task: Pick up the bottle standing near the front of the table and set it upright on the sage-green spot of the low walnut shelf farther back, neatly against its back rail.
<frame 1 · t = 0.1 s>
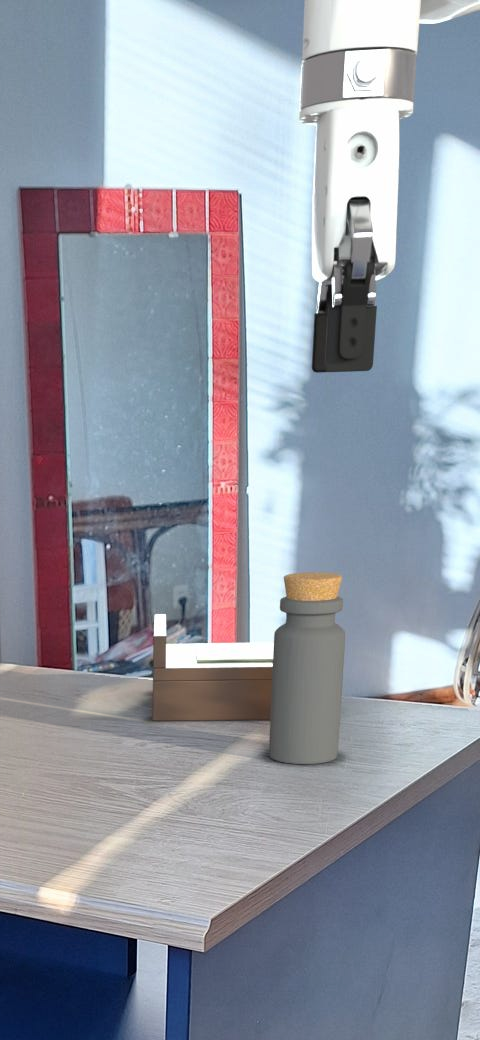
hand: (340, 371, 106), 30 cm above the table, tool pointing down, fingers open, 9 cm apart
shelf: (233, 705, 147), on the table
bottle: (302, 758, 126), on the table
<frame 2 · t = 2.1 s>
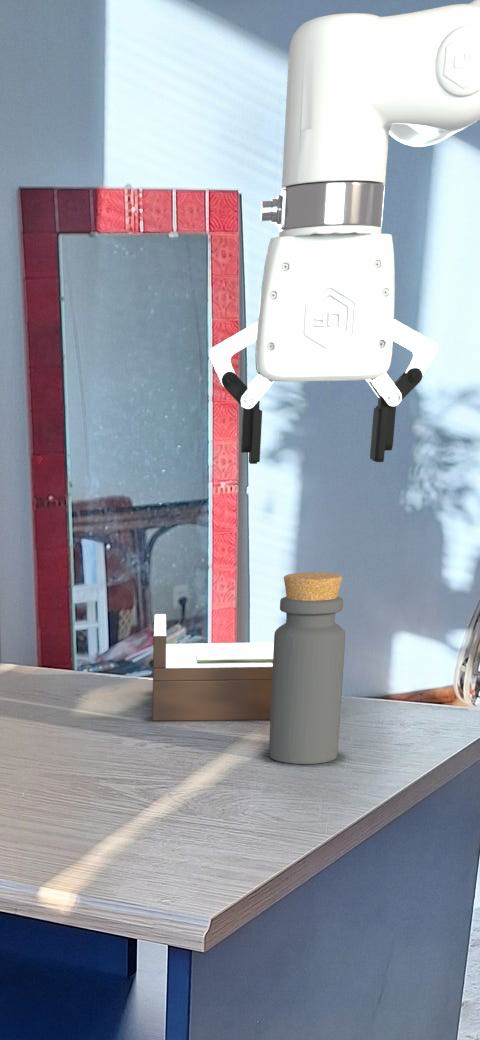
hand: (315, 462, 117), 24 cm above the table, tool pointing down, fingers open, 9 cm apart
nothing on the table moved.
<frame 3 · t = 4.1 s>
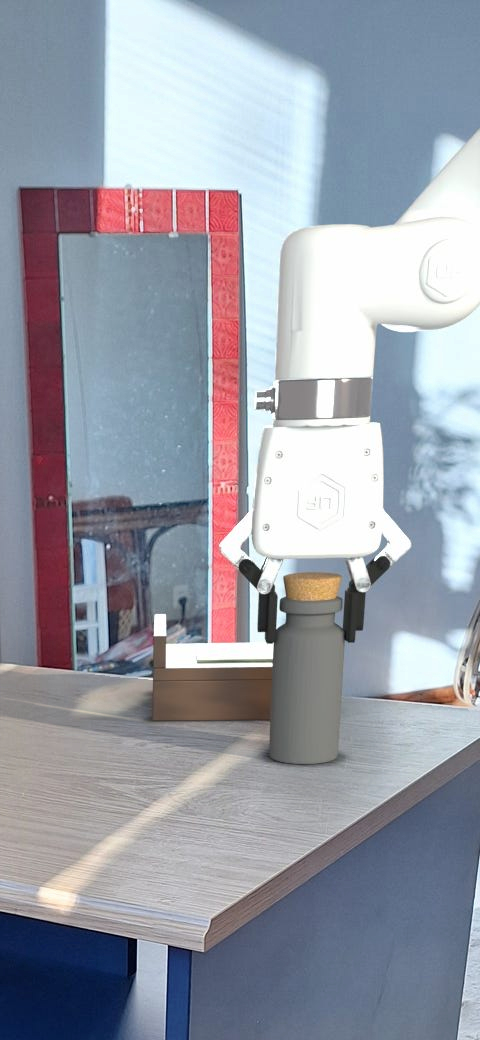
hand: (309, 638, 122), 10 cm above the table, tool pointing down, fingers closed on bottle, 5 cm apart
bottle: (302, 758, 126), on the table, touching gripper
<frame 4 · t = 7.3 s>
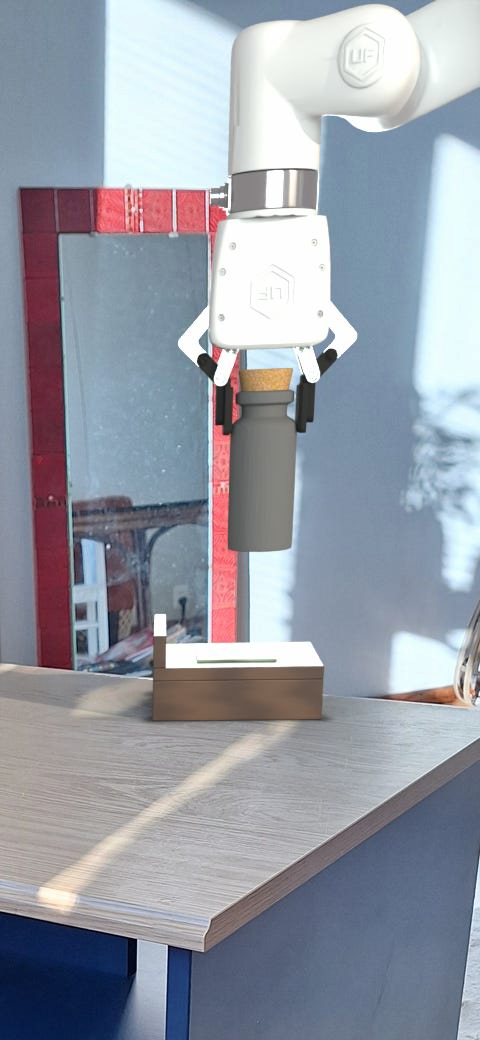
hand: (263, 431, 130), 26 cm above the table, tool pointing down, fingers closed on bottle, 5 cm apart
bottle: (259, 551, 134), point 15 cm above the table, touching gripper
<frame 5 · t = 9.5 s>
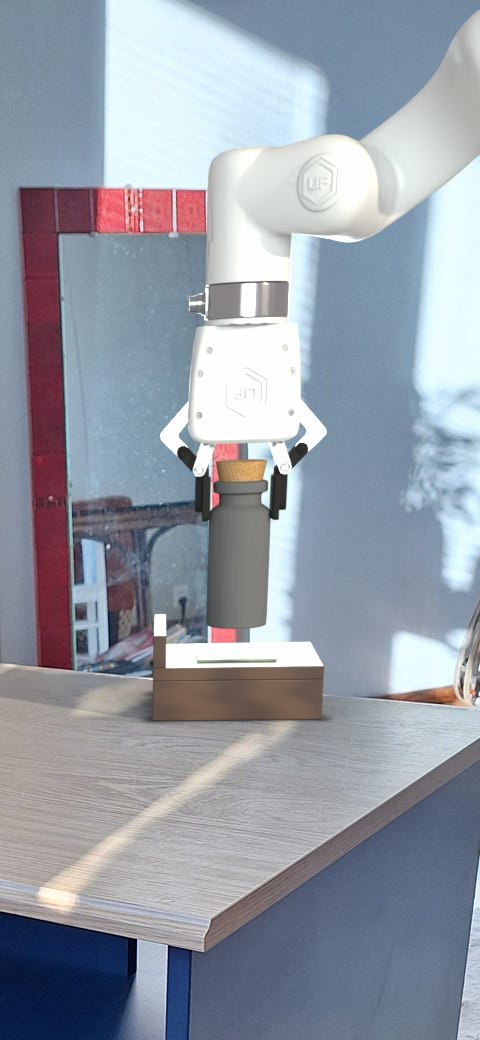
hand: (239, 517, 140), 18 cm above the table, tool pointing down, fingers closed on bottle, 5 cm apart
bottle: (236, 626, 144), point 8 cm above the table, touching gripper
when the fingers open (15 cm above the table, at t = 10.8 s): bottle stays where it is, resting on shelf.
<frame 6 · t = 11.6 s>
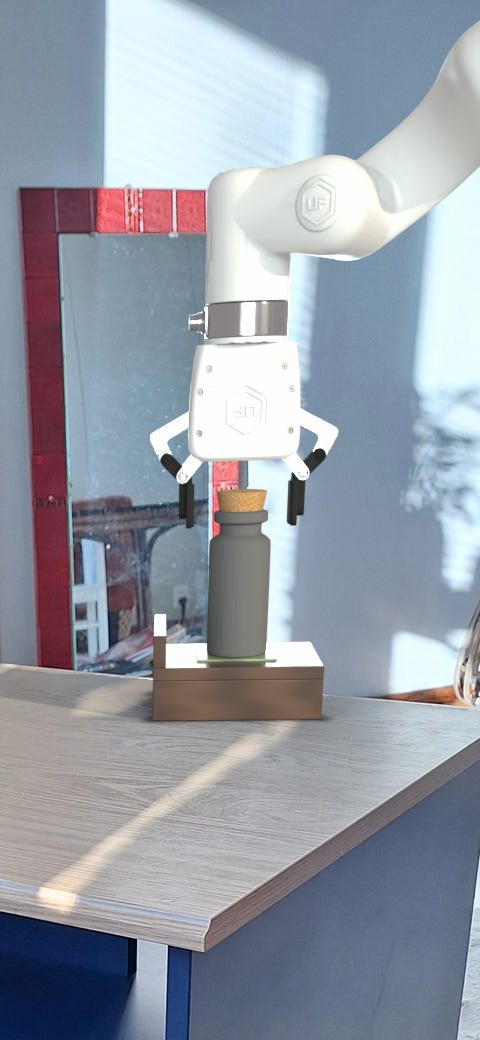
hand: (240, 525, 140), 17 cm above the table, tool pointing down, fingers open, 9 cm apart
bottle: (236, 654, 145), point 5 cm above the table, touching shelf
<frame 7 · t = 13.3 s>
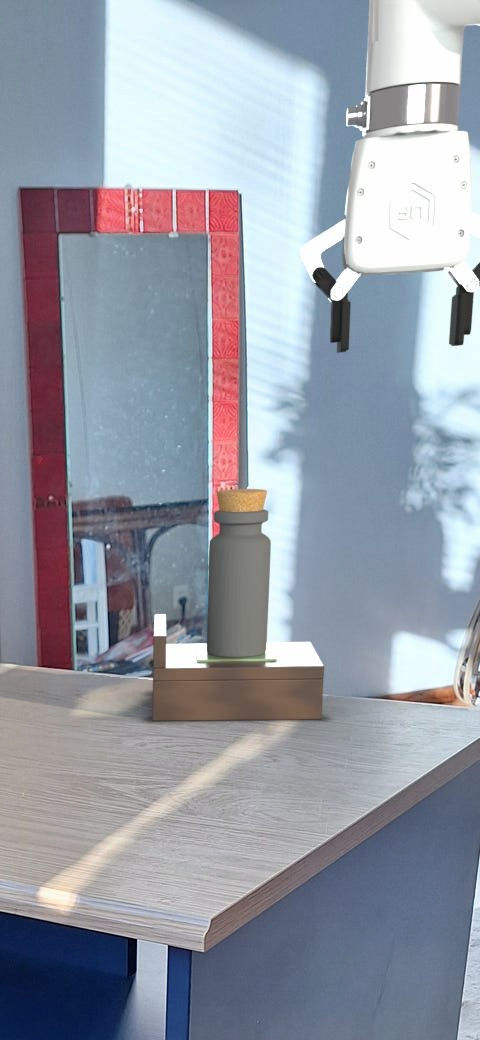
hand: (399, 348, 127), 32 cm above the table, tool pointing down, fingers open, 9 cm apart
nothing on the table moved.
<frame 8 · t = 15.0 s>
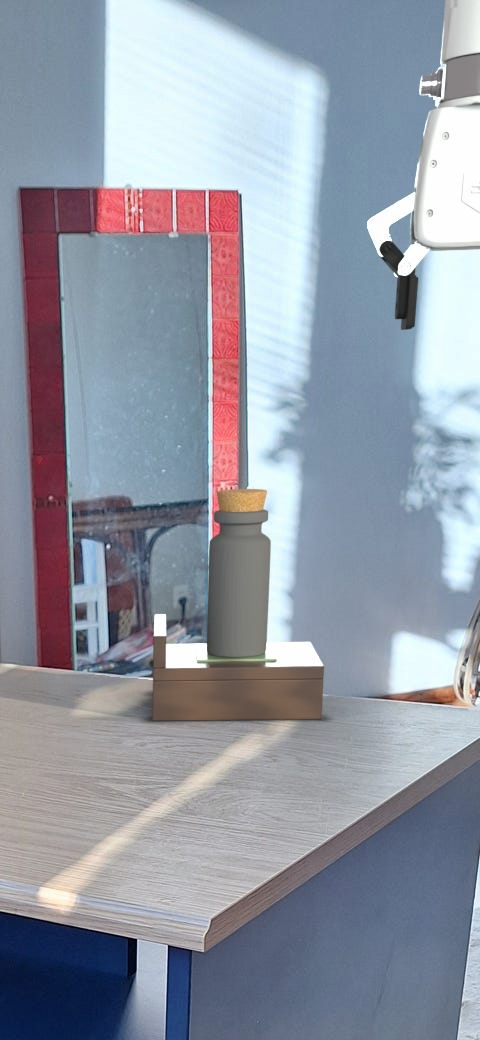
hand: (465, 326, 124), 33 cm above the table, tool pointing down, fingers open, 9 cm apart
nothing on the table moved.
at the end: bottle 0.1 cm off-centre on the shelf, point 5.0 cm above the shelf's base; bottle tilted 0°; the gripper is holding nothing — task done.
